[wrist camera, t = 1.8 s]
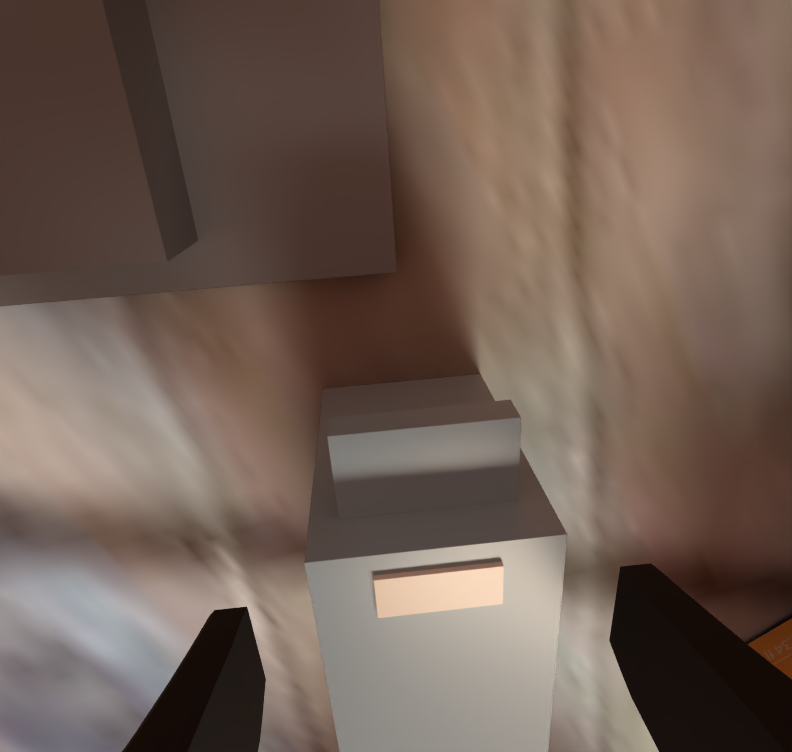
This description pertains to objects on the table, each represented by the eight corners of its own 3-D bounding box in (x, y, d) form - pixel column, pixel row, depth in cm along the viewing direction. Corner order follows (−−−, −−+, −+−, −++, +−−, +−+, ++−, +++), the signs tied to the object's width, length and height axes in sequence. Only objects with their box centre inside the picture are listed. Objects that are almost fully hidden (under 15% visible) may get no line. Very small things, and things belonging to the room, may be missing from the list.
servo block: (353, 605, 17) (355, 843, 11) (314, 328, 13) (287, 478, 7) (480, 591, 17) (544, 818, 11) (480, 313, 13) (577, 449, 7)
